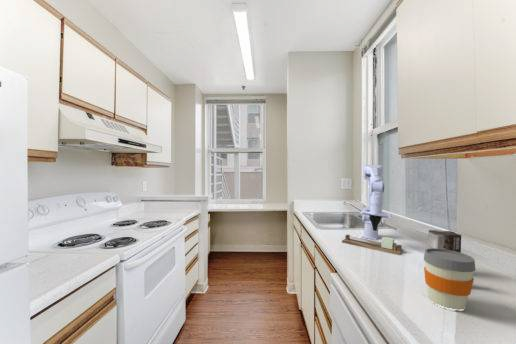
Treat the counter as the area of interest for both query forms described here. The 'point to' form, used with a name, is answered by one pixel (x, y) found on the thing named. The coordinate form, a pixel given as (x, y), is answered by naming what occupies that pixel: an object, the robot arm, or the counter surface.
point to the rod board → (372, 244)
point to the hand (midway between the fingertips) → (374, 230)
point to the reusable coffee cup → (448, 277)
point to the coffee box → (444, 240)
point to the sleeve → (387, 242)
